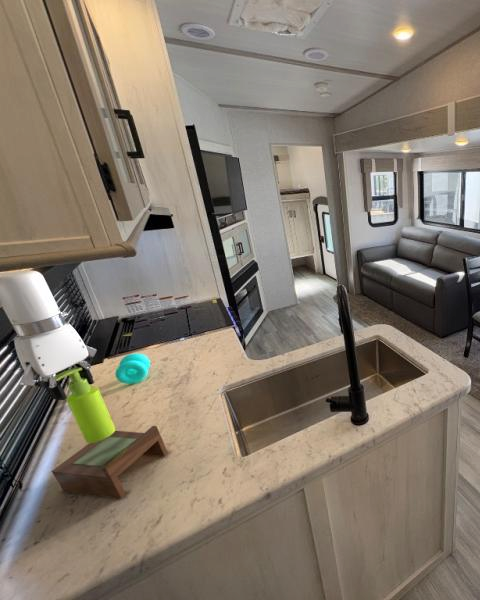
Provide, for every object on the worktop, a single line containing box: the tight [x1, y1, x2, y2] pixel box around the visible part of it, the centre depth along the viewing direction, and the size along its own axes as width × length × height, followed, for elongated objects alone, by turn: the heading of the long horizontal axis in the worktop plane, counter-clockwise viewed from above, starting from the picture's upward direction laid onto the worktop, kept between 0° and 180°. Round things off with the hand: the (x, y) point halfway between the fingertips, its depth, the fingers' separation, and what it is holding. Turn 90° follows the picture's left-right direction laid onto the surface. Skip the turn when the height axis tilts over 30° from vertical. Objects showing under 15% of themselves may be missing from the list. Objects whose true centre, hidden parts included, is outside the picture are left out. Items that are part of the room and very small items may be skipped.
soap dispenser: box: [56, 366, 116, 444], centre depth 78 cm, size 6×7×20 cm
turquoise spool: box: [114, 353, 151, 385], centre depth 128 cm, size 10×10×10 cm
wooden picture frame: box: [51, 425, 169, 499], centre depth 84 cm, size 18×14×10 cm
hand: (74, 390), depth 76 cm, fingers closed on soap dispenser, 5 cm apart
